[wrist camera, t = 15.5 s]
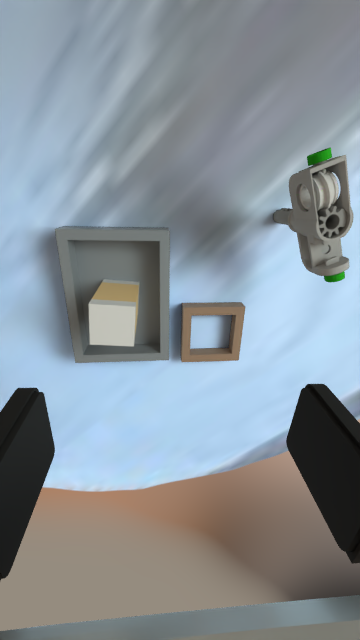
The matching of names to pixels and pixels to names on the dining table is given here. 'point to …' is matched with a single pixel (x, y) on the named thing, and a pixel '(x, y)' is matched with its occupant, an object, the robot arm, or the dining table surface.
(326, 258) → the mechanical component
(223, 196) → the dining table surface
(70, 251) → the parts tray
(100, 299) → the block
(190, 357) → the brown flat square frame
